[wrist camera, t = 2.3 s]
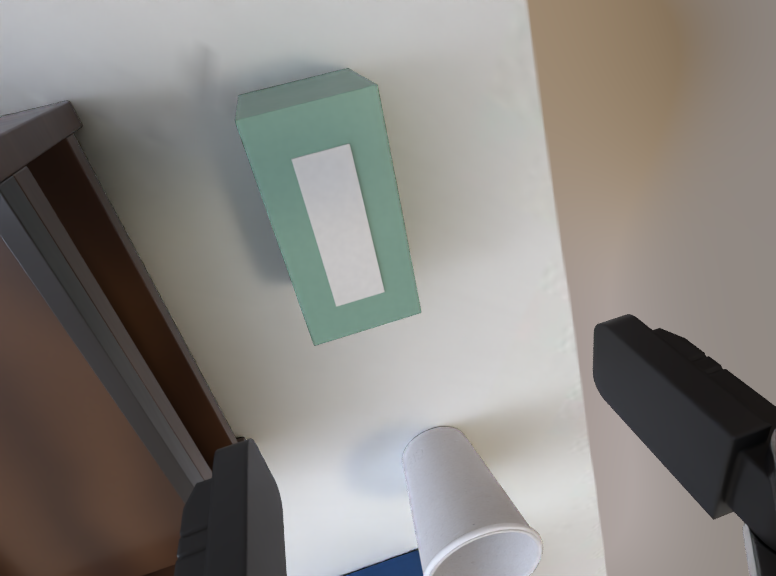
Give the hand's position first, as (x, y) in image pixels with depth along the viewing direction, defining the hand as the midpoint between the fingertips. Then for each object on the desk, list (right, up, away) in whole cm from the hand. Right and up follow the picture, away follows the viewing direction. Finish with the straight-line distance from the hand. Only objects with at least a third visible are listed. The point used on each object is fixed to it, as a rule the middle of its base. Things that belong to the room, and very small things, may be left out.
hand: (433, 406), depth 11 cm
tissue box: (-5, +8, +16) cm, 18 cm away
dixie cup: (+3, -11, +29) cm, 31 cm away
